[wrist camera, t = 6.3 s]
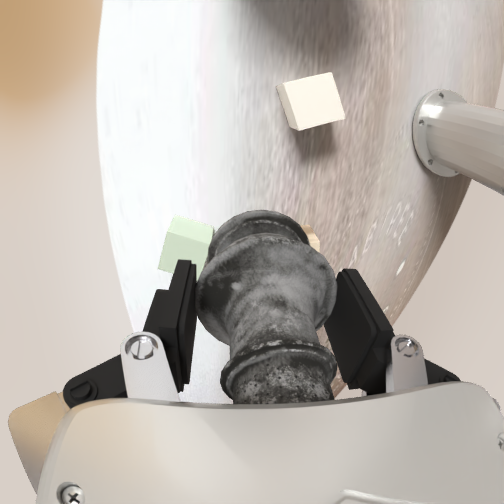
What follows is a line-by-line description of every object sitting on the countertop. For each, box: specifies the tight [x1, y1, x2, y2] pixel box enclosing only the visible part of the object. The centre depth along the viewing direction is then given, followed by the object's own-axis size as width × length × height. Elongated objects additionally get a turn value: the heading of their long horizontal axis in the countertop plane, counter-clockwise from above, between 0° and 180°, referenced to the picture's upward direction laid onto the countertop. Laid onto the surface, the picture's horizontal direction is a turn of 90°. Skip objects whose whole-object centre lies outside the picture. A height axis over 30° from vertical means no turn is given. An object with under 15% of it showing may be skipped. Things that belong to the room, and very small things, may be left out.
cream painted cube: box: [276, 72, 345, 131], centre depth 27 cm, size 5×5×5 cm
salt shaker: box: [195, 210, 337, 404], centre depth 9 cm, size 6×6×12 cm
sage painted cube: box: [158, 215, 214, 281], centre depth 34 cm, size 5×5×5 cm
